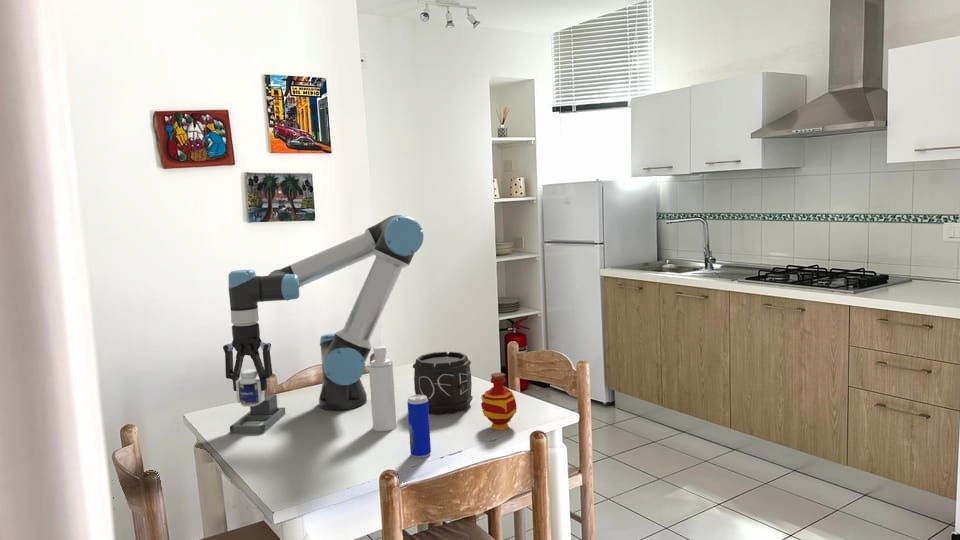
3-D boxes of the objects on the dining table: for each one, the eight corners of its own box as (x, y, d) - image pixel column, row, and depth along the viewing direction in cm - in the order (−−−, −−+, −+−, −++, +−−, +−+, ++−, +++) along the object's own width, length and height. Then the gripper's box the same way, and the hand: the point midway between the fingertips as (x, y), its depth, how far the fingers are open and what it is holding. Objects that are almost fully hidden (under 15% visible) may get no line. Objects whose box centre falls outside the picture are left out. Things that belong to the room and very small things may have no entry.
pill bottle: (237, 406, 198) (234, 373, 197) (247, 401, 204) (245, 368, 203) (255, 407, 197) (252, 373, 196) (265, 401, 203) (262, 368, 202)
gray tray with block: (285, 414, 213) (283, 387, 212) (263, 433, 196) (261, 403, 195) (254, 414, 214) (252, 387, 213) (230, 433, 197) (227, 404, 196)
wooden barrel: (440, 420, 200) (437, 367, 198) (404, 408, 213) (401, 358, 212) (485, 405, 212) (483, 356, 210) (449, 395, 225) (446, 348, 223)
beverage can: (410, 451, 176) (407, 395, 175) (430, 450, 177) (427, 393, 175) (410, 459, 171) (407, 400, 170) (431, 457, 172) (427, 399, 170)
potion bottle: (522, 421, 195) (520, 370, 194) (512, 434, 186) (510, 380, 184) (487, 419, 199) (485, 369, 197) (476, 431, 189) (473, 378, 187)
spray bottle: (390, 432, 192) (385, 344, 189) (369, 430, 194) (363, 344, 191) (400, 424, 198) (395, 339, 196) (379, 423, 200) (373, 339, 197)
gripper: (281, 320, 201) (286, 397, 203) (220, 321, 203) (226, 398, 205) (271, 325, 194) (277, 404, 196) (208, 326, 195) (214, 405, 198)
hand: (251, 401), depth 201 cm, fingers closed on pill bottle, 6 cm apart
